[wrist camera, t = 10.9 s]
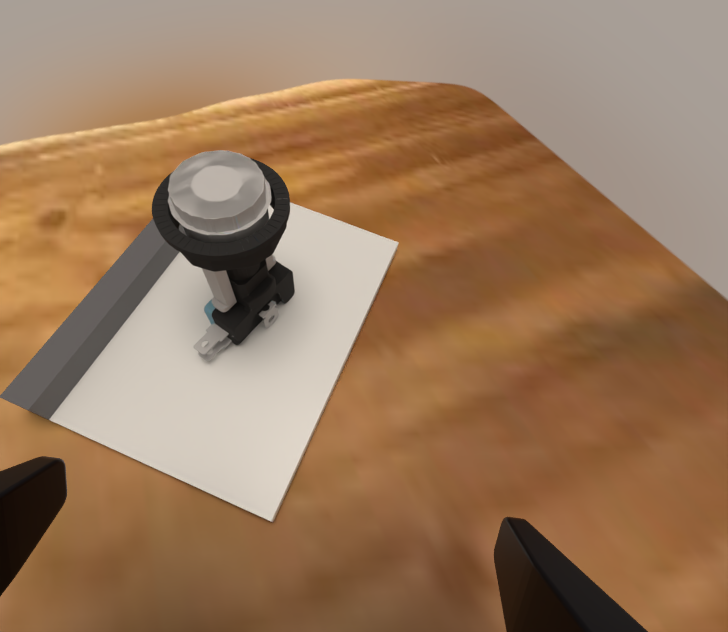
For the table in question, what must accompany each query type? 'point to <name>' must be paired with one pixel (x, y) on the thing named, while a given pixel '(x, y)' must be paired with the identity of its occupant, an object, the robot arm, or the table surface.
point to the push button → (228, 239)
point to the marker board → (209, 378)
